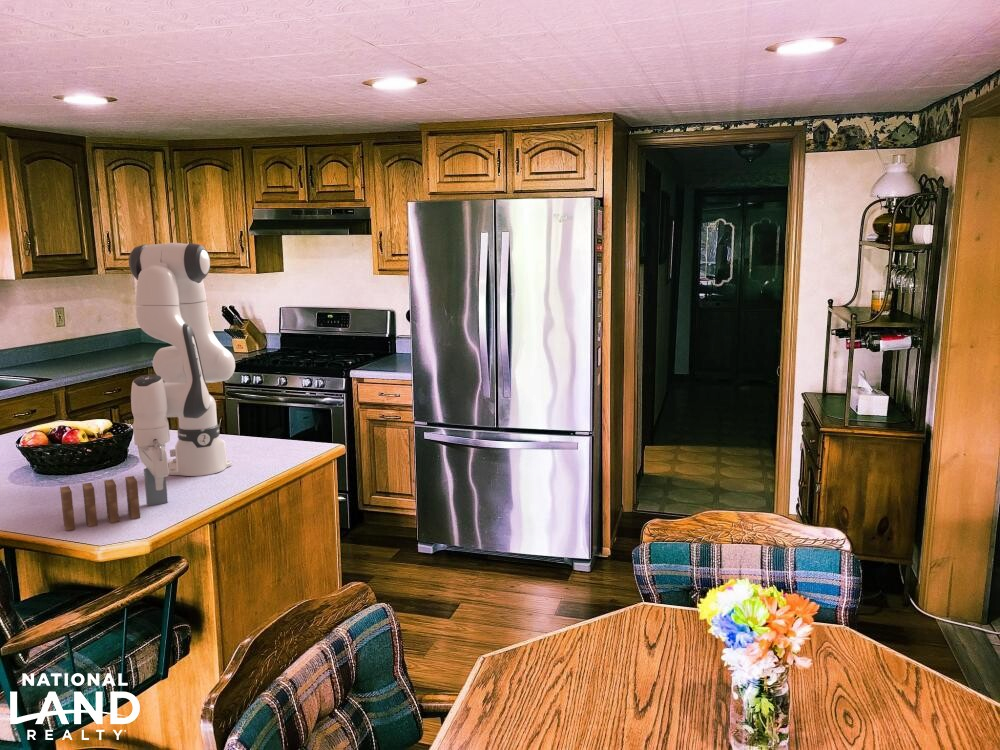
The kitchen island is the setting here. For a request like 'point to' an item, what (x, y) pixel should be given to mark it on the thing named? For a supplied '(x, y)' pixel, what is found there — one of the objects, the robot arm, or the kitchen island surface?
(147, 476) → the slate domino
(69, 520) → the domino
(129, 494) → the domino
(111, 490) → the domino
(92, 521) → the domino
